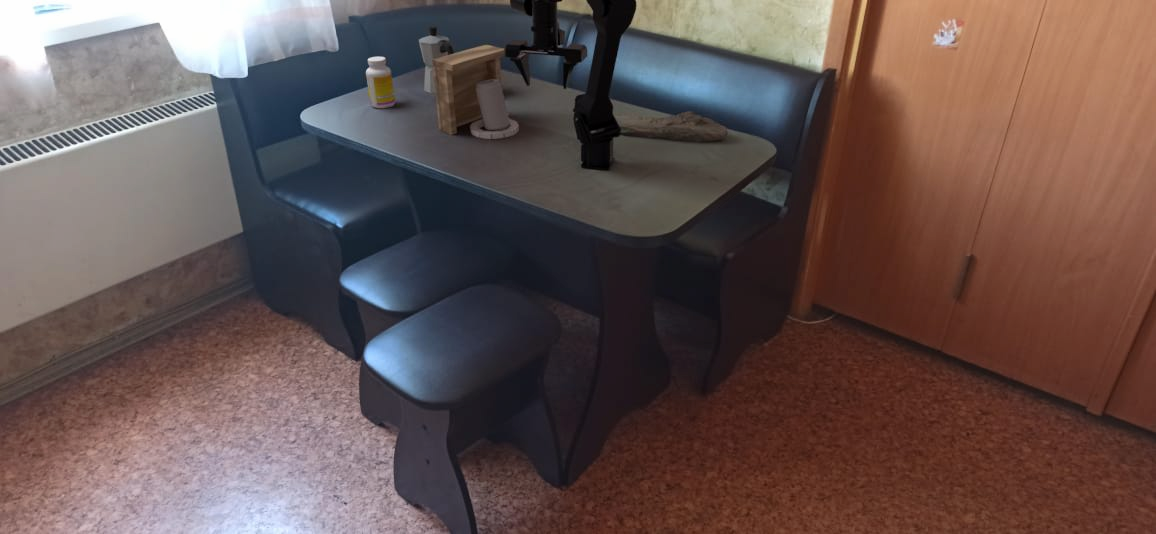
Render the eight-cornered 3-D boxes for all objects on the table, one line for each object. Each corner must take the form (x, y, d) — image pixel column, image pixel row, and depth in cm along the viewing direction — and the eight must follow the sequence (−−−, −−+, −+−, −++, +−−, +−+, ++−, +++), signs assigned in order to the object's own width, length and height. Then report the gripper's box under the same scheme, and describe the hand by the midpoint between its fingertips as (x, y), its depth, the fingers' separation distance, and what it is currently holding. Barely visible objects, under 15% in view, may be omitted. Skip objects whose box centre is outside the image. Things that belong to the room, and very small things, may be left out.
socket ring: (524, 124, 201) (524, 119, 200) (508, 140, 191) (508, 136, 191) (481, 120, 204) (481, 115, 203) (463, 136, 194) (462, 131, 193)
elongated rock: (595, 125, 205) (584, 140, 197) (594, 106, 202) (583, 120, 194) (729, 130, 195) (724, 147, 187) (730, 110, 192) (725, 126, 184)
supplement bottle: (400, 103, 216) (394, 57, 209) (383, 110, 211) (376, 63, 205) (382, 99, 219) (376, 54, 212) (365, 106, 214) (358, 59, 208)
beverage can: (499, 132, 193) (488, 84, 188) (480, 132, 196) (469, 85, 192) (515, 124, 197) (504, 77, 192) (496, 124, 201) (485, 78, 196)
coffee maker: (414, 88, 228) (406, 25, 219) (439, 81, 233) (433, 20, 224) (443, 100, 218) (436, 35, 209) (468, 93, 224) (463, 29, 214)
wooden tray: (509, 117, 205) (506, 49, 196) (458, 136, 194) (452, 65, 185) (490, 111, 210) (486, 44, 200) (439, 130, 198) (432, 59, 189)
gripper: (593, 14, 182) (593, 80, 190) (518, 10, 187) (521, 74, 195) (580, 25, 173) (580, 94, 181) (501, 20, 177) (505, 87, 185)
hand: (546, 87), depth 186 cm, fingers open, 9 cm apart
